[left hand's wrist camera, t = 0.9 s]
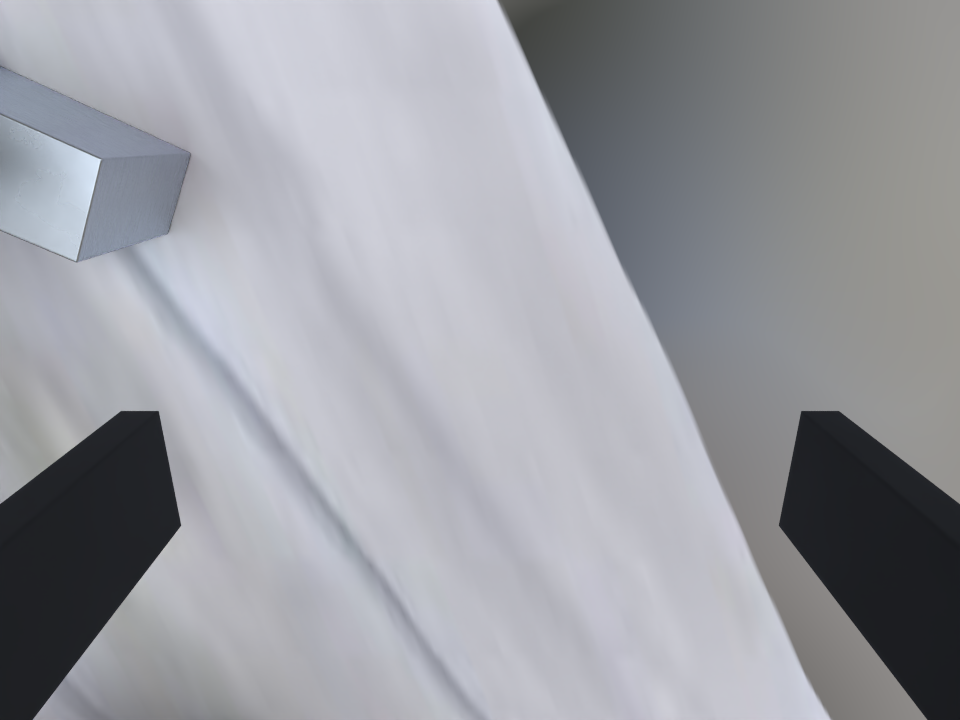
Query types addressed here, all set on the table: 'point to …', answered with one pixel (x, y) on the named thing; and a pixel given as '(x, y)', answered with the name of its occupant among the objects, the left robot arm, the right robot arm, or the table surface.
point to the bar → (80, 174)
